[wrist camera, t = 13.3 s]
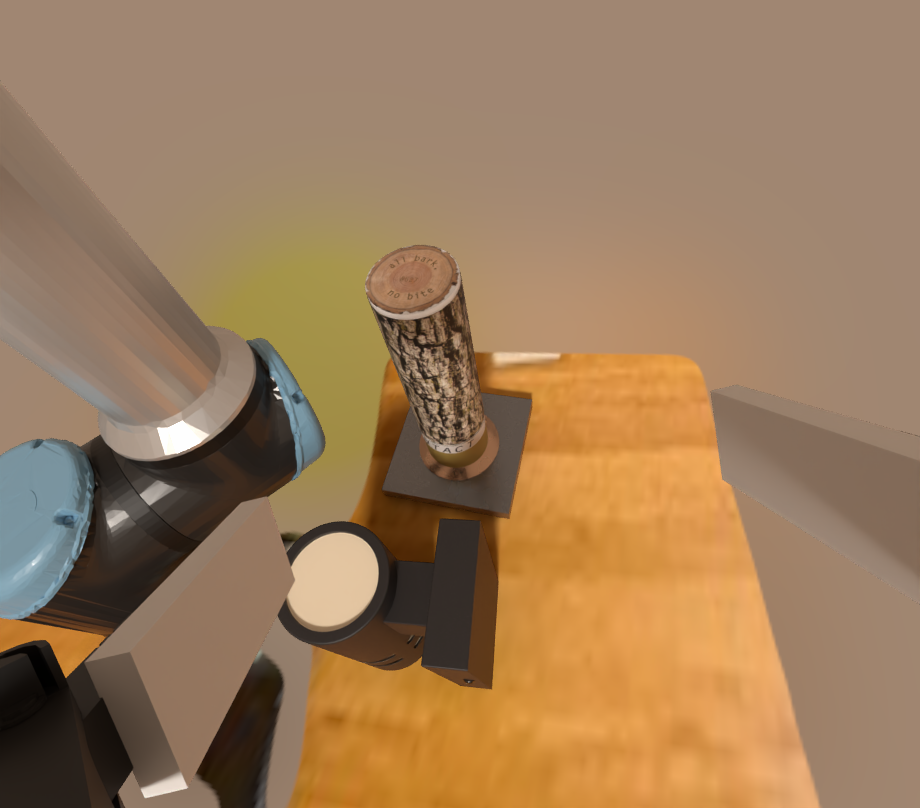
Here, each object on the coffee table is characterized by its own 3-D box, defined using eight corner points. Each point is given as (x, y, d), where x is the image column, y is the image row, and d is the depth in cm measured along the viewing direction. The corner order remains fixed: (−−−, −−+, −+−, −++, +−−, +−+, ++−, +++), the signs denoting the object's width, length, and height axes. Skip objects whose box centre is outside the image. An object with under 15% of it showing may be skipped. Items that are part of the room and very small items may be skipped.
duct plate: (385, 495, 56) (381, 488, 55) (420, 390, 63) (417, 383, 62) (509, 518, 53) (508, 513, 52) (532, 406, 60) (532, 398, 58)
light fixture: (364, 569, 52) (294, 506, 37) (498, 579, 50) (480, 516, 35) (343, 676, 47) (252, 653, 32) (491, 692, 45) (467, 676, 30)
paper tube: (438, 412, 59) (383, 241, 38) (494, 421, 57) (471, 248, 36) (420, 464, 56) (350, 308, 35) (480, 476, 54) (444, 320, 33)
